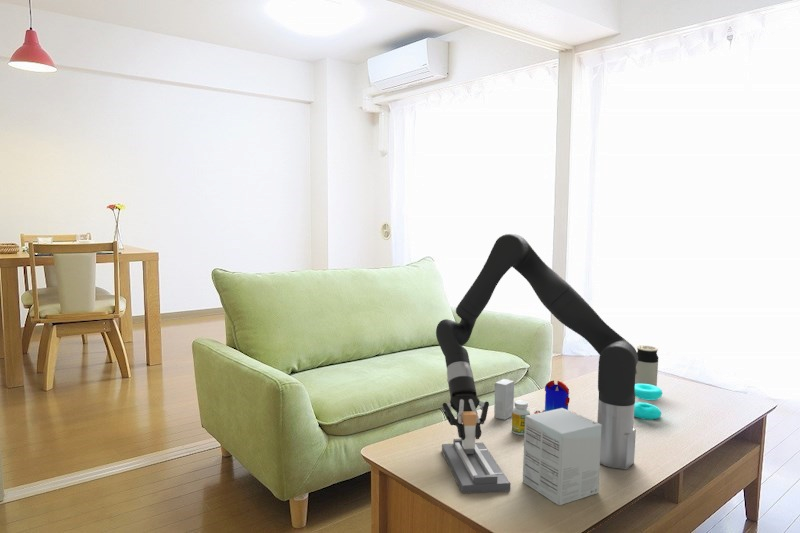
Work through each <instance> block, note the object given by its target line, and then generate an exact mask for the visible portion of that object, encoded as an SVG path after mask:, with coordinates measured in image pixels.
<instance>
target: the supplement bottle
mask: <svg viewBox="0 0 800 533" xmlns="http://www.w3.org/2000/svg"><path fill="white" fill-rule="evenodd" d="M528 403H529V402H528V401H526V400H519V399H518V400H515V401H514V407H513V410H512V416H511V432H512V433H513V434H515V435H519V436H524V434H525V416H526V415H531V412H530V409H529V408H528V407H529V404H528Z"/></svg>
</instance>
